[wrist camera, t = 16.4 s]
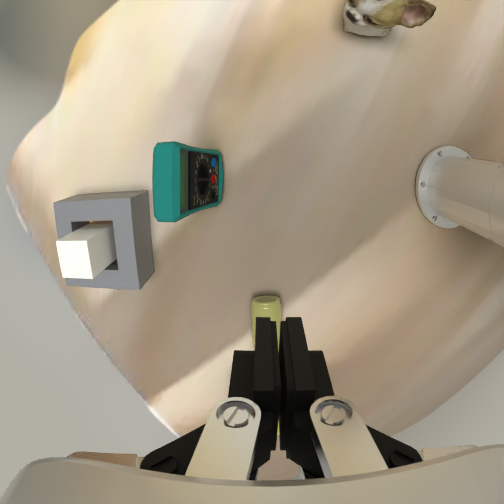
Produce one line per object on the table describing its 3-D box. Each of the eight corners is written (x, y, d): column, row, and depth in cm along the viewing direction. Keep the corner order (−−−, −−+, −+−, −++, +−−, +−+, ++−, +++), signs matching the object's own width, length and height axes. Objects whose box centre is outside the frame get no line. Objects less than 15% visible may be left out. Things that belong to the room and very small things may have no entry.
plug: (121, 220, 41) (86, 240, 31) (124, 251, 42) (93, 279, 33) (93, 221, 41) (55, 241, 31) (97, 251, 42) (62, 277, 33)
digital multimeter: (203, 205, 42) (224, 205, 41) (150, 222, 28) (179, 223, 27) (203, 150, 40) (224, 150, 39) (149, 142, 26) (178, 140, 25)
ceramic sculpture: (310, 9, 33) (333, -46, 18) (354, -13, 31) (388, -64, 17) (360, 65, 35) (405, 31, 21) (401, 40, 33) (454, 6, 19)
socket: (148, 190, 41) (130, 197, 35) (154, 271, 45) (139, 290, 39) (77, 194, 42) (53, 202, 35) (86, 269, 45) (66, 285, 39)
